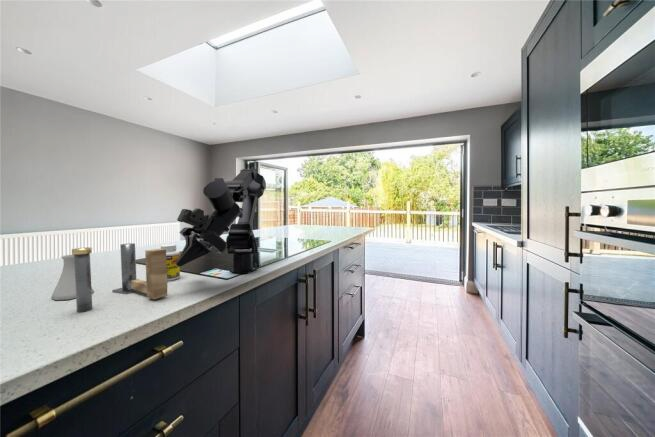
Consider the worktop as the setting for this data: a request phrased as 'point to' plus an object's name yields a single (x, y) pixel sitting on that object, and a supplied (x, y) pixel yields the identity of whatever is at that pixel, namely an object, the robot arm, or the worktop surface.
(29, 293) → the worktop surface
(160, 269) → the tan flat l-shaped piece
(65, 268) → the flask
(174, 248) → the supplement bottle
